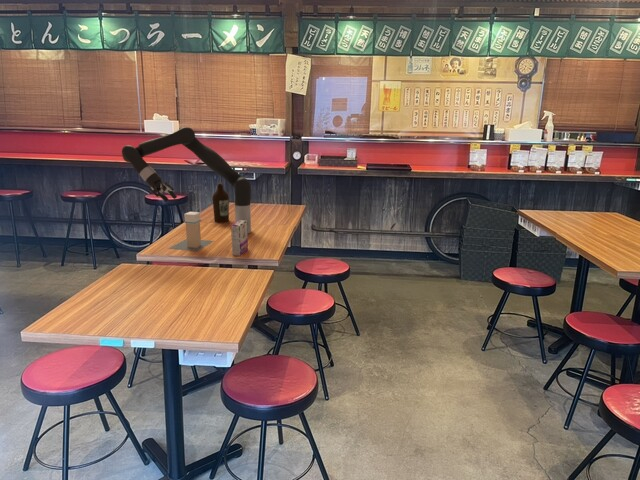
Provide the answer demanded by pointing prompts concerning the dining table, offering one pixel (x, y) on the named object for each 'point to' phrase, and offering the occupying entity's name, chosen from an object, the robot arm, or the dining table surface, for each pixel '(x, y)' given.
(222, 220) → the olive oil
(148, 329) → the dining table surface
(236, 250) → the candy bar box
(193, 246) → the kraft carton
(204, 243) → the packing mat
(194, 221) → the carton lid
